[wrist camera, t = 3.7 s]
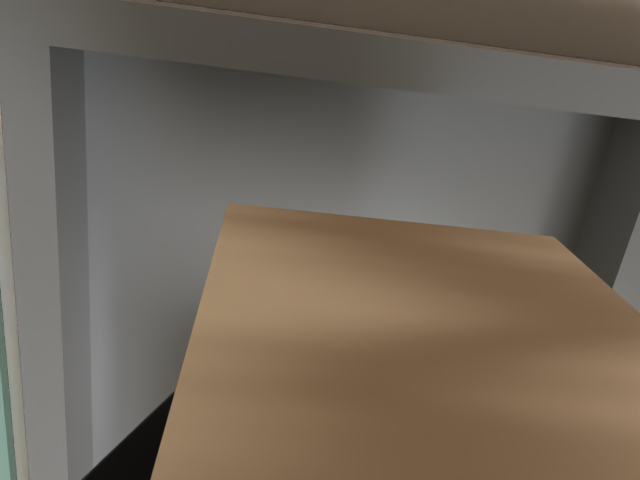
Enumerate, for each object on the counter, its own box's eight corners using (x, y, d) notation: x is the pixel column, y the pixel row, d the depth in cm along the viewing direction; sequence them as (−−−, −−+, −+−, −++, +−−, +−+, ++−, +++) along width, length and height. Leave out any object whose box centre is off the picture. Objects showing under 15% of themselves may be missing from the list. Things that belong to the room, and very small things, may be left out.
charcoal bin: (661, 69, 15) (731, 82, 12) (484, 592, 22) (508, 662, 19) (42, -15, 13) (-10, -17, 11) (69, 575, 20) (42, 650, 18)
